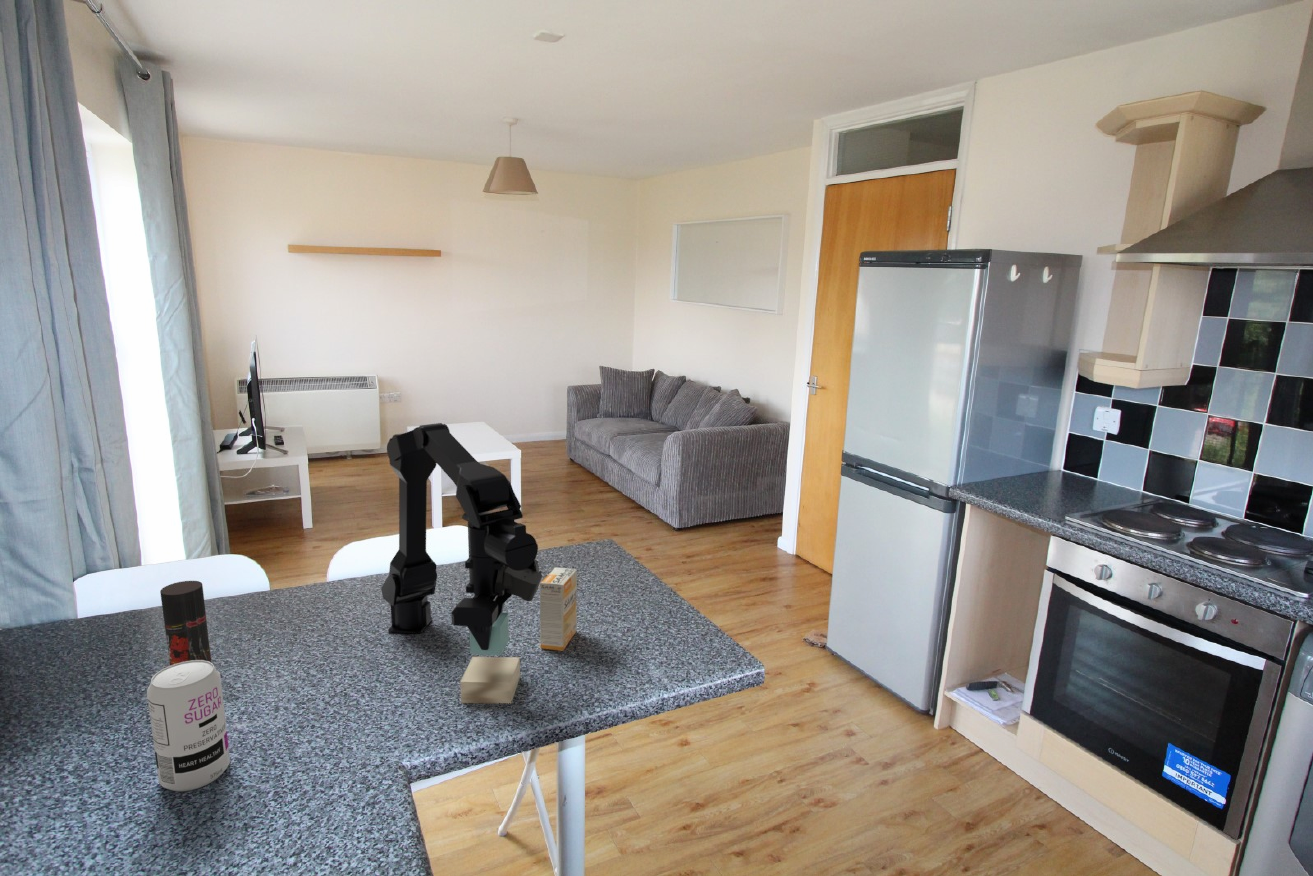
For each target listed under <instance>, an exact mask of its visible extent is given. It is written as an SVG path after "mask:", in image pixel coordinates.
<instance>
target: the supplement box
mask: <svg viewBox="0 0 1313 876" xmlns="http://www.w3.org/2000/svg"><path fill="white" fill-rule="evenodd" d="M577 575H578V570H577V569H575V568H568V567H567V568H566V567H554V568H552V570H551V571H550V572H549V573H548V574H546V576H545V577H544V578H543V579H541V581H540V584H539V622H540V624H539V625H540V627H539V628H540V629H539V630H540V631H539V633H540V634H539V635H540V642H539V643H540V645H539V646H540V649H544V650H552V651H553V650H554V651H559V652H560V651H561V652H562V651H565V649H566V647H567V645H568V644H569V643H570V641H571V639H573V637H574V635H575V634H576V633H577V630H578V629H577V627H578V626H577V619H578V617H577V614H578V613H577V611H578V610H577V606H578V605H577V603H578V602H577V601H578V600H577V598H578V597H577V591H578V590H577V589H578V587H577V583H578V581H577V580H578V578H577V577H578V576H577Z"/></svg>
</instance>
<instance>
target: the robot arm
mask: <svg viewBox="0 0 1313 876" xmlns="http://www.w3.org/2000/svg"><path fill="white" fill-rule="evenodd" d="M386 453H387V457H388V459H389V465H390V467H391V468H392V470H393V471H394V473H395V474H396V475H397V477H398V487H399V488H398V501H399V504H398V550H397V551H396V553H395V555H394V556H393V558H391V559H392V560H391V561H390V563H389V572H388V575H387V578H386V579H385V581H384V582H383V584H382V586H381V588H380V589H381V595H382V599H383V600H384V601H386V602H387V603H388V604H389V605H390V618H391V620H390V621H391V625H390V627H389V628H388V629H387V632H388V633H398V634H399V633H400V634H403V633H404V634H422V632H423V631H425V628H427V626H428V625H429V624H430V622H431V621H432V620H433V617H432V609H431V607H432V606H431V601H430V600H429V599H428V598H429V597H428V596H431V595H434V594H435V592H436V588H437V587H436V585H437V579H438V574H437V573H438V572H437V564H436V561H434V560H433V559H432V558H431V556H430V555H429V553H427V511H428V510H427V505H428V504H427V503H428V502H427V499H428V498H427V497H428V495H427V494H428V492H427V491H428V489H427V488H428V479H429V478H430V476H431V475H432V473H433V471H434V470H435V469H436V467H437V465H438V466H439V468H440V469H442V471H443V472H444V473H445V474H446V475H447V476H448V477H449V478H450V480H451V481H452V482H453V483H454V485H455V487H456V491H455V498H456V500H457V501H458V502H459V505H460V506H461V508H462V510H463V512H464V513H463V514H462V515H461V518H462V520H464V521H466V522H467V541H468V543H467V545H468V558H467V559H466V560H465V562H464V568H465V569H468V574H469V576H468V577H469V582H468V583H467V585H466V586H465V593H466V594H474V595H473V596H472V597H463V598H462V599H461V600H459V602H458V603H457V604H456V606H455V607H454V608H453V609H452V611H451V612H450V613H451V625H453V626H456V627H458V626H459V627H467V628H468V630H470V631H471V633H472V635H473V636H474V638H475V640H476V641H477V643H478V645H479V646H480V648H481V649H482V650H488V649H489V644H490V637H491V630H492V625H493V624H494V622H495V621H496V620H497V619H498V617H499V616H500V614H501V613H503V611H504V606H505V604H506V602H507V600H509V599H510V598H511V597H512V595H513V596H515V597H519V598H521V599H522V600H523V601H525V602H531V601H533V599H534V597H535V595H536V593H537V591H538V589H539V587H540V582H541V581H542V578H543V575H542V571H541V570H540V565H539V560H537V559H536V558H537V555H538V551H539V545H538V543H537V539H536V538H535V537H534V535H532V534H530V533H528V532H527V525H525V524H523V523H521V522H516V521H515V520H520V519H523V518H524V515H523V513H522V510H521V509H522V505H521V503H520V501H519V499H518V498H517V495H516V494H515V491H514V489H513V487H512V484H511V482H510V480H509V479H508V478H507V476H506V475H505V474H504V473H502V472H501V471H499V470H498V469H497V468H496V467H493V466H490V465H487V464H483V463H481V462H478V460H476V458H475V457H473V455H472V454H471V453H470V452H469V451H468V450H467V449H466V448H465V447H464V446H463V445H462V444H461V443H460V442H459V440H458V439H456V437H455V436H454V435H452V433H451V432H450V429H449V427H448V425H447V424H445V423H442V422H438V423H431V424H421V425H419V426H417V427H415V428H413V429H412V430H409V431H407V432H405V433H403V432H402V433H396V434H394V435H392V437H391V438H389V440H388V442H387V444H386ZM504 508H506V509H504ZM500 509H503V510H500ZM495 510H497V511H495ZM491 511H495V512H491ZM428 600H429V601H428Z"/></svg>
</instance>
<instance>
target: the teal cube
mask: <svg viewBox="0 0 1313 876" xmlns="http://www.w3.org/2000/svg"><path fill="white" fill-rule="evenodd" d="M509 627H510V626H509V612H502V613H501V614H500V616H499V617H498V619H497V620H496V621H495V622H494V624H493V625H492V630H491V637H490V644H489V649H488V650H482V649H481V648H480V646H479V645H478V643H477V641H476V640H475V638H474V636H473V635H472V633H471V631H470V630H469V629H468V630H469V655H483V656H484V655H486V656H502V654H503V652H504V651H505V648H506V646H507V645H508V643H509V641H510V633H509Z"/></svg>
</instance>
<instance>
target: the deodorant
mask: <svg viewBox="0 0 1313 876" xmlns="http://www.w3.org/2000/svg"><path fill="white" fill-rule="evenodd" d="M203 587H204V586H203V583H202V582H201V581H199V580H183V581H178V582H174V583H170V584H168V585H165V586H164V587H162V588H161V589H160V601H161V608H162V614H163V615H162V616H163V622H164V623H163V624H164V630H165V631H164V632H165V638H166V645H167V652H168V660H169V666H171V665H174V664H177V663H181V662H186V661H192V660H204V661H209V662H212V657H211V656H212V655H211V647H210V637H209V630H208V621H207V613H206V604H205V597H204V596H205V594H204V588H203Z"/></svg>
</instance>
